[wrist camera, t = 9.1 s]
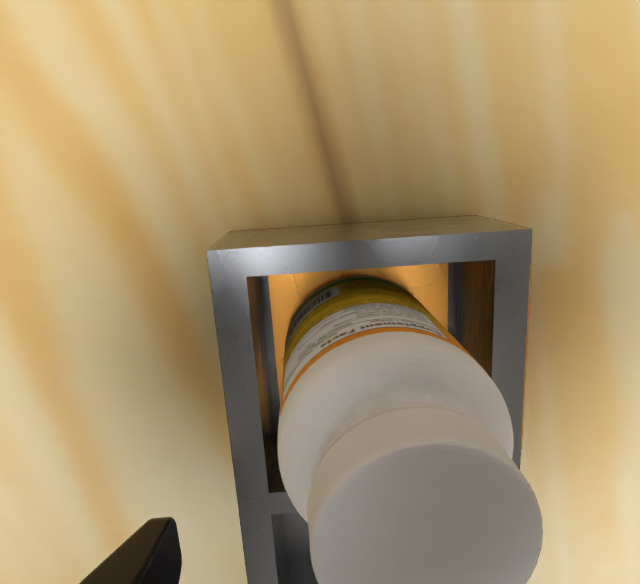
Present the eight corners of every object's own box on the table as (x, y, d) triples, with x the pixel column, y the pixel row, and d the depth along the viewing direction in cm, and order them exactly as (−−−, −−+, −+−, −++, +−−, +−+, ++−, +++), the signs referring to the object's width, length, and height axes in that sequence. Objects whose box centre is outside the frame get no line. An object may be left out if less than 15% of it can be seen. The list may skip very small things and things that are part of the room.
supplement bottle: (423, 412, 18) (558, 673, 9) (283, 409, 18) (264, 676, 8) (438, 275, 17) (619, 406, 7) (287, 269, 16) (271, 398, 7)
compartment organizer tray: (471, 706, 23) (508, 823, 19) (284, 722, 23) (280, 844, 19) (484, 214, 17) (542, 228, 13) (229, 231, 17) (206, 250, 13)
